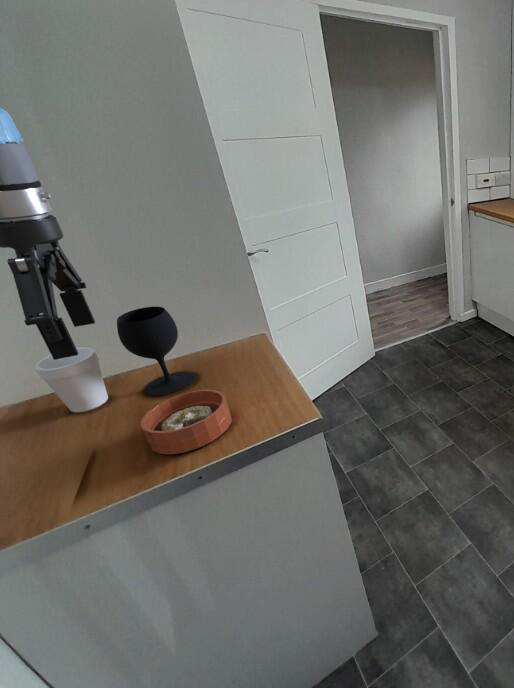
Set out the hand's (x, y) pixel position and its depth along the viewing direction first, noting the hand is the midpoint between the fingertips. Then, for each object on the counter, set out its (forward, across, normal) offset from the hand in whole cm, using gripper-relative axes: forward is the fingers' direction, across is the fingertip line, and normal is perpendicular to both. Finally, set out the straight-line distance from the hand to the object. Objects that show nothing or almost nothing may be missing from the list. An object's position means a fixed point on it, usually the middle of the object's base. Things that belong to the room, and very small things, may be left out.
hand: (76, 339), depth 71 cm
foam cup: (+27, +26, +10) cm, 39 cm away
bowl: (+27, +2, -10) cm, 29 cm away
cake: (+26, +2, -10) cm, 28 cm away
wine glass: (+27, +26, -5) cm, 38 cm away
